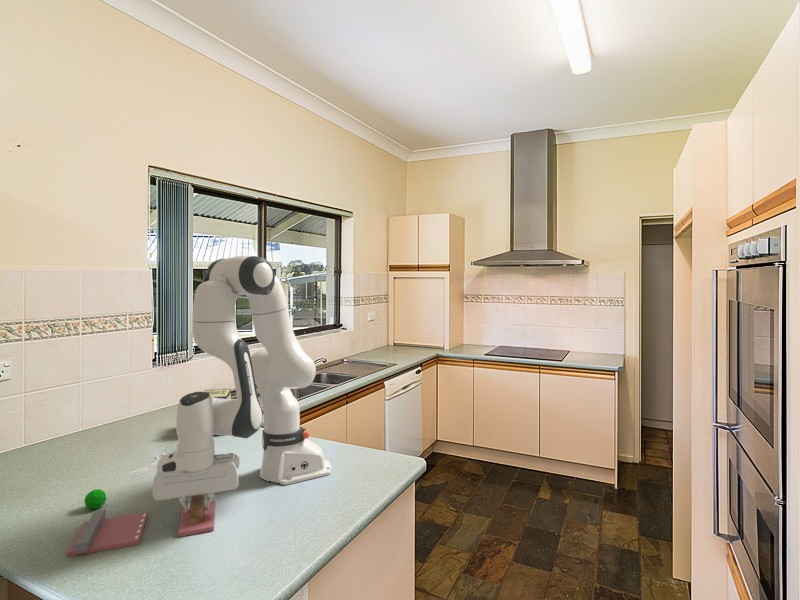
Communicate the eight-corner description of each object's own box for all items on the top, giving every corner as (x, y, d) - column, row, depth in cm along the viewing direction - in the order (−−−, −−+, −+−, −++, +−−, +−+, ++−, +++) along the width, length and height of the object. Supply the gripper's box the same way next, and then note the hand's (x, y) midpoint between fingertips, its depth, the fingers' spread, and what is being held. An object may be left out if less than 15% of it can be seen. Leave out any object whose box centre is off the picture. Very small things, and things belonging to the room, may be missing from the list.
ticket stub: (215, 504, 127) (214, 484, 127) (213, 530, 114) (213, 508, 114) (183, 509, 124) (182, 489, 124) (177, 536, 111) (177, 514, 111)
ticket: (148, 514, 123) (148, 502, 122) (137, 546, 108) (137, 533, 107) (86, 523, 118) (85, 512, 118) (65, 559, 103) (65, 546, 103)
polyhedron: (102, 501, 130) (102, 484, 129) (109, 506, 126) (108, 489, 126) (81, 508, 126) (81, 491, 125) (88, 514, 123) (87, 496, 122)
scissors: (187, 455, 163) (138, 478, 144) (187, 457, 163) (138, 480, 144) (164, 452, 166) (113, 473, 147) (164, 454, 166) (113, 476, 147)
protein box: (198, 437, 182) (197, 398, 181) (205, 425, 197) (204, 389, 196) (226, 435, 184) (226, 396, 183) (231, 423, 199) (230, 387, 199)
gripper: (239, 447, 125) (240, 498, 126) (153, 458, 118) (155, 511, 119) (239, 456, 119) (240, 509, 120) (150, 467, 112) (151, 523, 113)
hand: (197, 510), depth 119 cm, fingers closed on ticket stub, 3 cm apart
